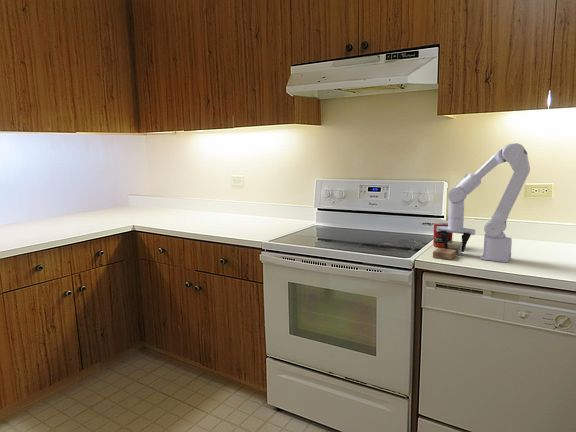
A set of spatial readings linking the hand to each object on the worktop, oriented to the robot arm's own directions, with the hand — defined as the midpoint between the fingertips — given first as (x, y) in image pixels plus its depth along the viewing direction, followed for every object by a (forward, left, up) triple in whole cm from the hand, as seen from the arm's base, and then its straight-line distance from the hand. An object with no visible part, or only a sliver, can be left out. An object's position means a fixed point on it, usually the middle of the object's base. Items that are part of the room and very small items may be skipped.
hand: (454, 250), depth 169 cm
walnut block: (+2, +7, -1) cm, 7 cm away
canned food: (+7, -10, -2) cm, 13 cm away
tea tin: (0, 0, -2) cm, 2 cm away
